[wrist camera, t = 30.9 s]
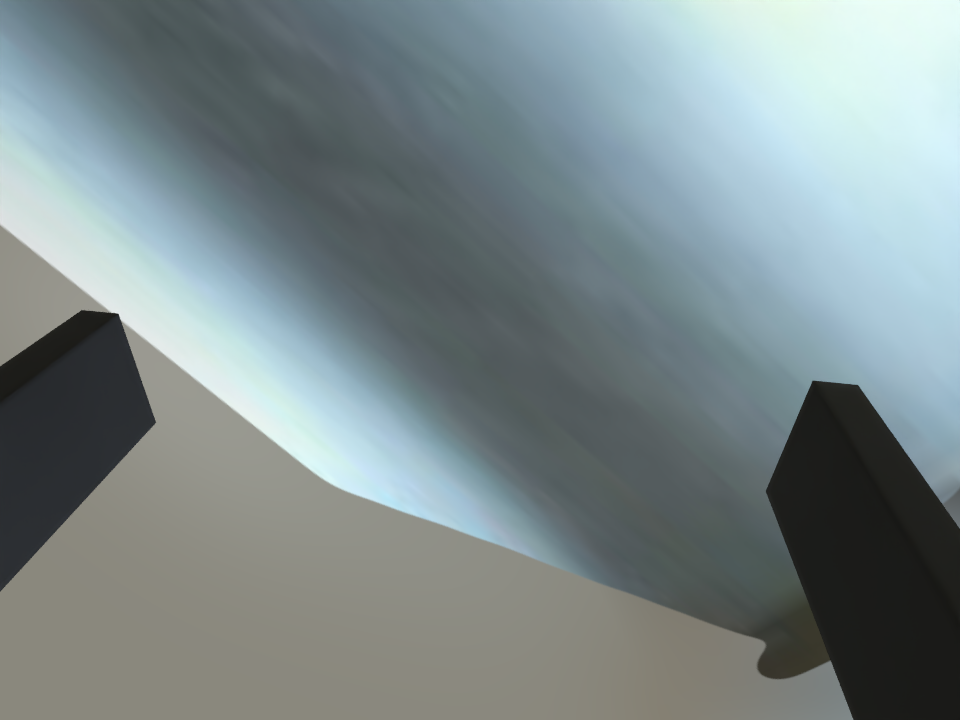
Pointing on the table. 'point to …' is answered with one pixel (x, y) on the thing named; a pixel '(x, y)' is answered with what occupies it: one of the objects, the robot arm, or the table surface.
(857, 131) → the table surface
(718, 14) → the table surface
